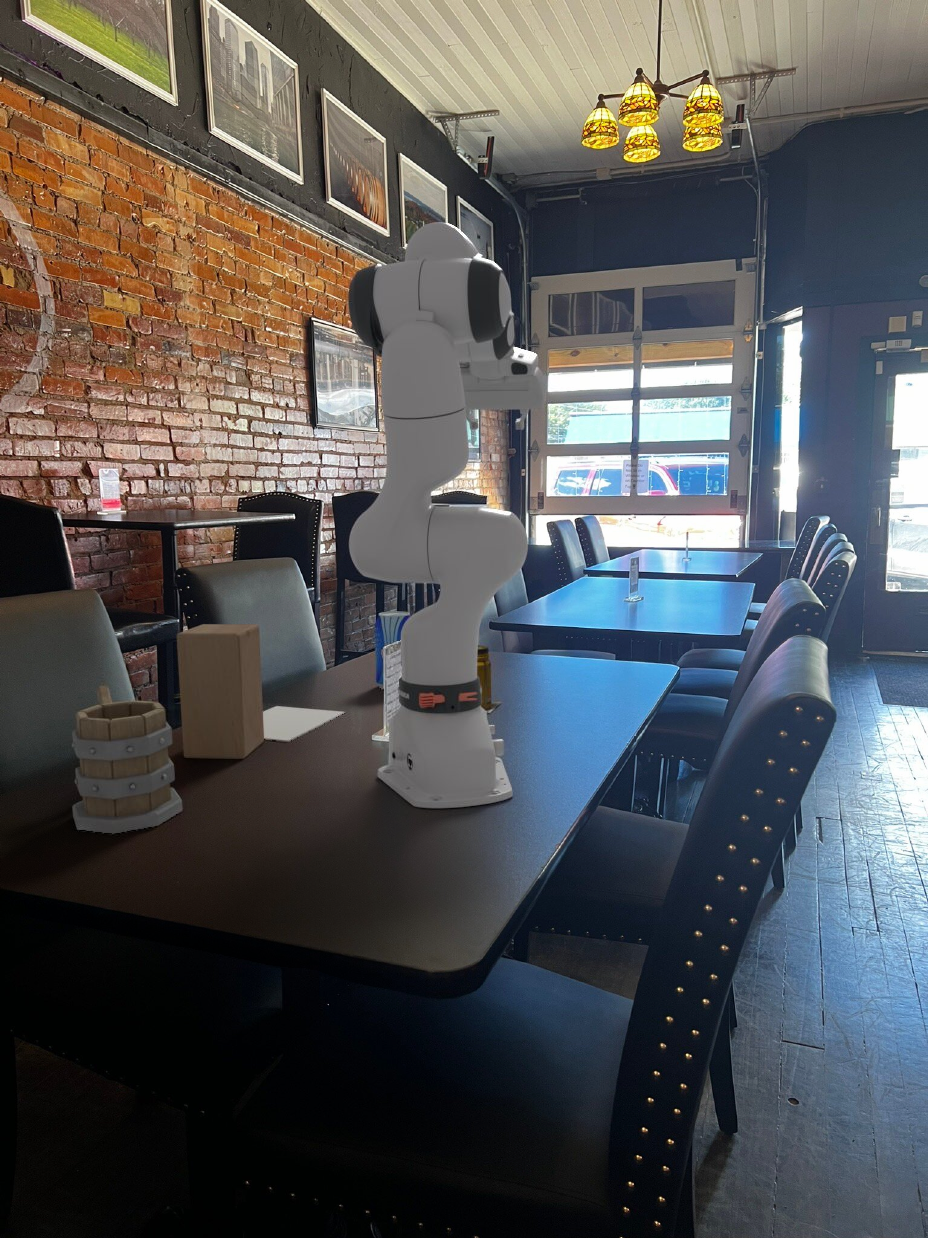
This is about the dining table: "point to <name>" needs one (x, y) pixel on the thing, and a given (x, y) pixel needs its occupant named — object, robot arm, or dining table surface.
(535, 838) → the dining table surface
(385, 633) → the beer can
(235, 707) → the wooden block
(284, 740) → the mat
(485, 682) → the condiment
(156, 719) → the tankard
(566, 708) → the dining table surface
